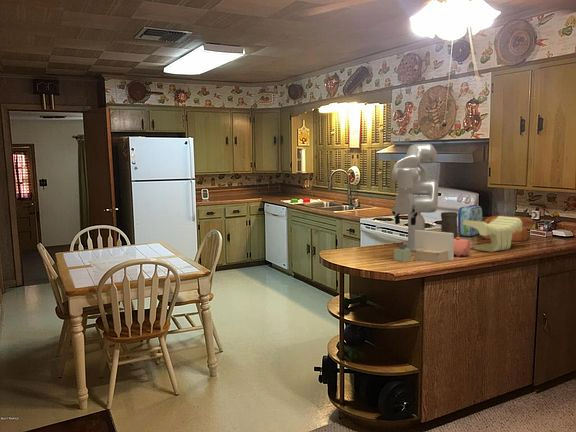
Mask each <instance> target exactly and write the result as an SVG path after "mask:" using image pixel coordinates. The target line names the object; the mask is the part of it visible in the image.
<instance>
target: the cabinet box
mask: <svg viewBox="0 0 576 432" xmlns="http://www.w3.org/2000/svg"><path fill="white" fill-rule="evenodd" d="M411 260H412V251H411V249H408V248H406V245H403V243H402V244H398V248H394V249H393V261H395V262H401V263H402V262H403V263H404V262H409V261H411Z"/></svg>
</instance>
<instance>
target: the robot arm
mask: <svg viewBox="0 0 576 432" xmlns="http://www.w3.org/2000/svg"><path fill="white" fill-rule="evenodd" d="M437 159H438V152H437V150H436V148H435V146H434V145H433V144H431V143H415V144H411V145H409V147H408V148H407V152H406V154H405V156H404V157H403V158H402V159H400V160H398V161H396V162H395V163H394V165H393V167H392V171H391V179H392V181H393V182H395V183H397V189H396V190H395V191H396V193H397V194H396V195H395V200H394V205H393V206H392V207H391V208H390V211H391V212H392V214H393V216H394V223H395V225H400V224H401V221H400V220H401V217H400V215H401V214H405V215H407V235H408V236H407V238H408V239H407V241H403V243H402V244H403V245H405V248H408V249H411V252H414V250H415V230H421V231H426V230H425V229H426V226H425V224H426V223H425V222H426V220H425V218H424V216H423V215H422V214H421V213H423V214H424V213H425V214H426V213H427V214H428V213H436V211H437V210H438V201H439V183H438V180H437V179H435V178H427V172H426V170H425V168H424V167H422V165H423V164H424V165H425V164H435V163H436V162H437ZM420 164H421V165H420Z"/></svg>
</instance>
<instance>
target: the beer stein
mask: <svg viewBox="0 0 576 432" xmlns="http://www.w3.org/2000/svg"><path fill="white" fill-rule="evenodd" d="M440 213H441V214H440V216H441V217H440V218H441V224H440V225H441V226H440V228H441V229H440V230H441V231H440V232H445V233H454V239H456V237H458V212H454V211H445V212H443V211H442V212H440Z"/></svg>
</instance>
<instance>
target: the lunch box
mask: <svg viewBox="0 0 576 432" xmlns="http://www.w3.org/2000/svg"><path fill="white" fill-rule="evenodd" d="M457 215H458V216H457V233H458V234H459V236H460V237H461V236H462V237H475V236H478V235H480V234H479V231H478V229H475V228H473V227H470V226H467V225H463V220H470V221H480V222H483V209H482V207H481V206H480V205H477V204H471V205H468V206H462V207H461V206H460V207H459V208H458V212H457Z"/></svg>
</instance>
